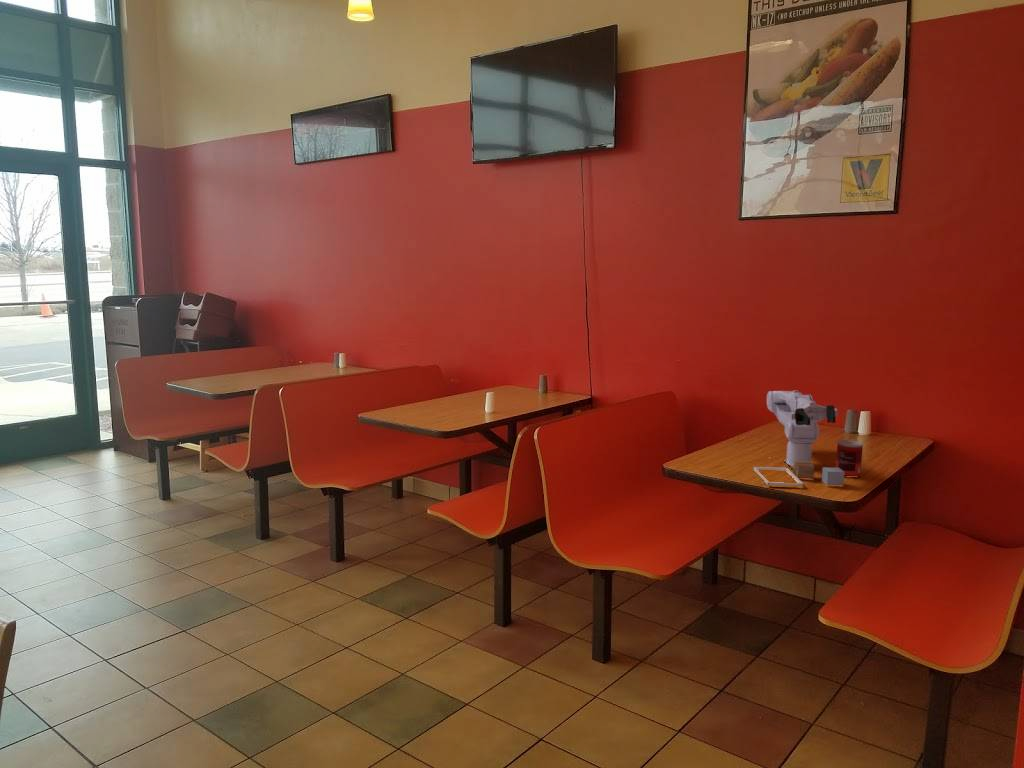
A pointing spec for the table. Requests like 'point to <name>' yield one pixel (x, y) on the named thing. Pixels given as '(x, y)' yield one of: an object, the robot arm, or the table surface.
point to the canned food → (849, 457)
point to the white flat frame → (799, 482)
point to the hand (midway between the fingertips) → (821, 420)
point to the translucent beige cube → (803, 469)
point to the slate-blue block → (833, 476)
